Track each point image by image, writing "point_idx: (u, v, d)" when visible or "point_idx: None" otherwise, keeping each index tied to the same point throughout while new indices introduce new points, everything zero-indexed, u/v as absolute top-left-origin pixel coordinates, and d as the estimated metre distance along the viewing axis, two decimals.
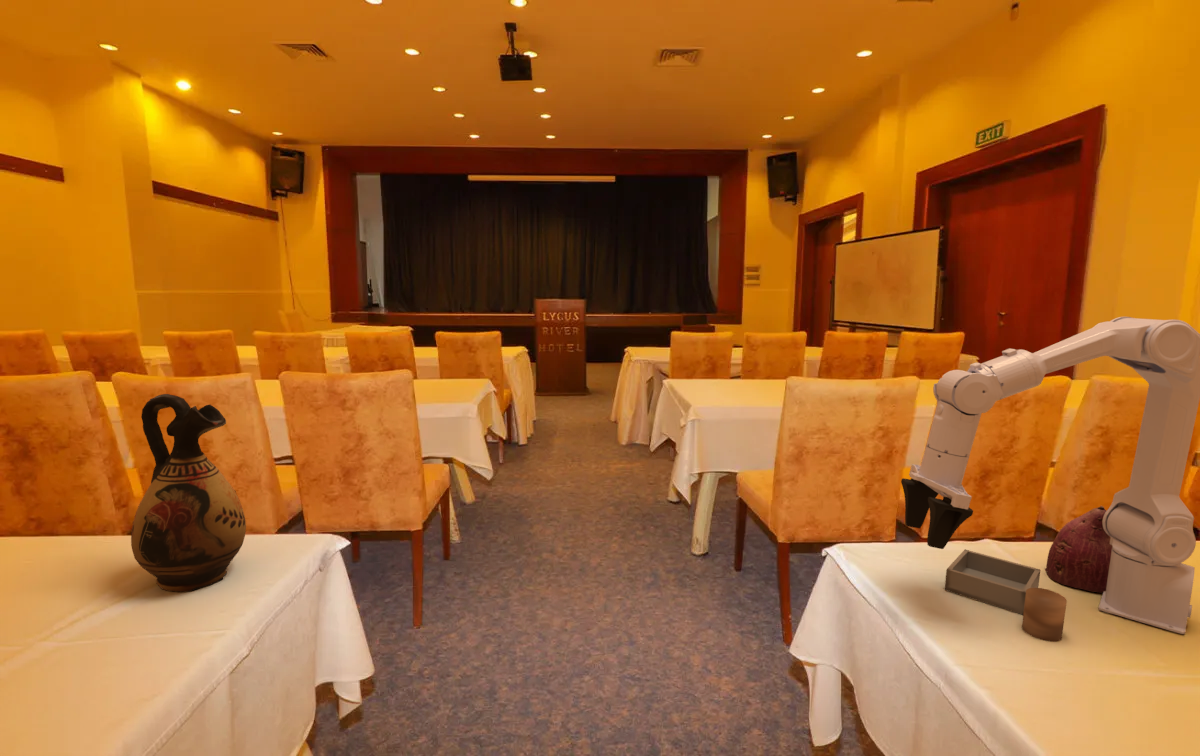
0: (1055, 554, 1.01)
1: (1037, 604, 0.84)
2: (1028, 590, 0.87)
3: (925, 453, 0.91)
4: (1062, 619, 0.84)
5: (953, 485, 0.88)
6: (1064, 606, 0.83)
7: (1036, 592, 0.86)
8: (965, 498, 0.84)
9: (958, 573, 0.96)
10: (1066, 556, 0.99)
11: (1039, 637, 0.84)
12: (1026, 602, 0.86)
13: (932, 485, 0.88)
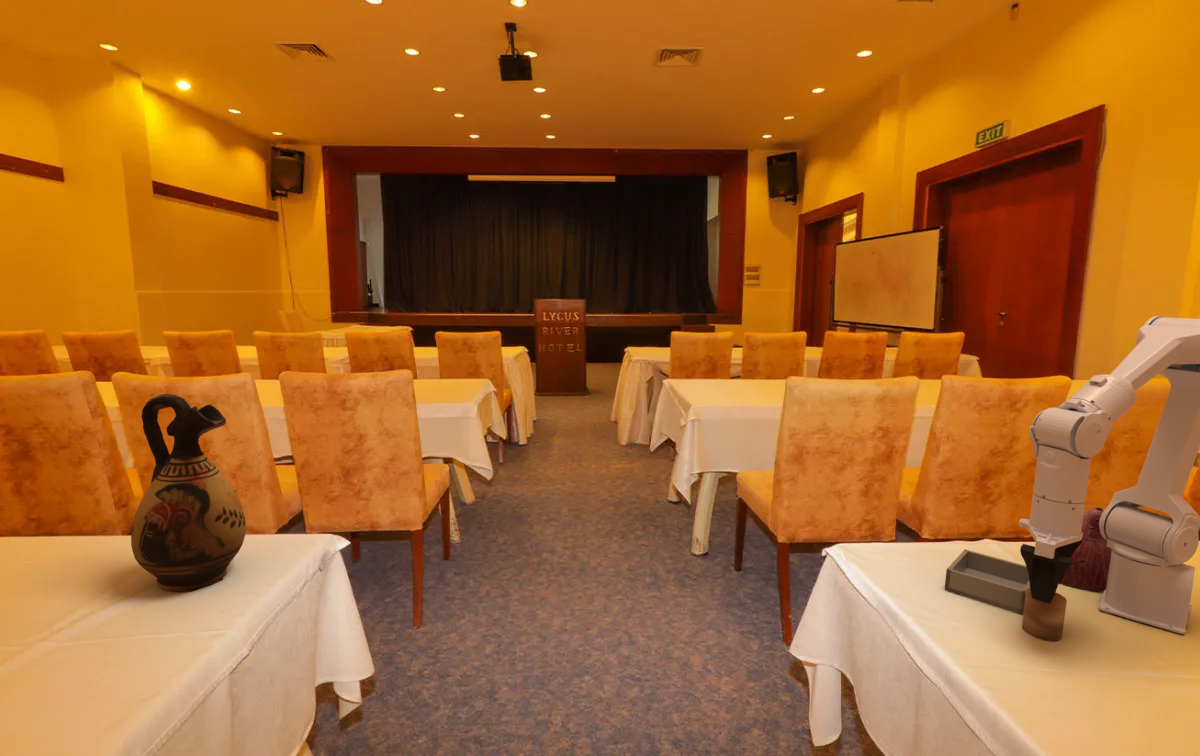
0: None
1: (1037, 604, 0.84)
2: (1028, 590, 0.87)
3: None
4: (1062, 619, 0.84)
5: (1057, 534, 0.81)
6: (1064, 606, 0.83)
7: None
8: (1046, 546, 0.78)
9: (958, 573, 0.96)
10: None
11: (1039, 637, 0.84)
12: (1026, 602, 0.86)
13: (1030, 532, 0.83)
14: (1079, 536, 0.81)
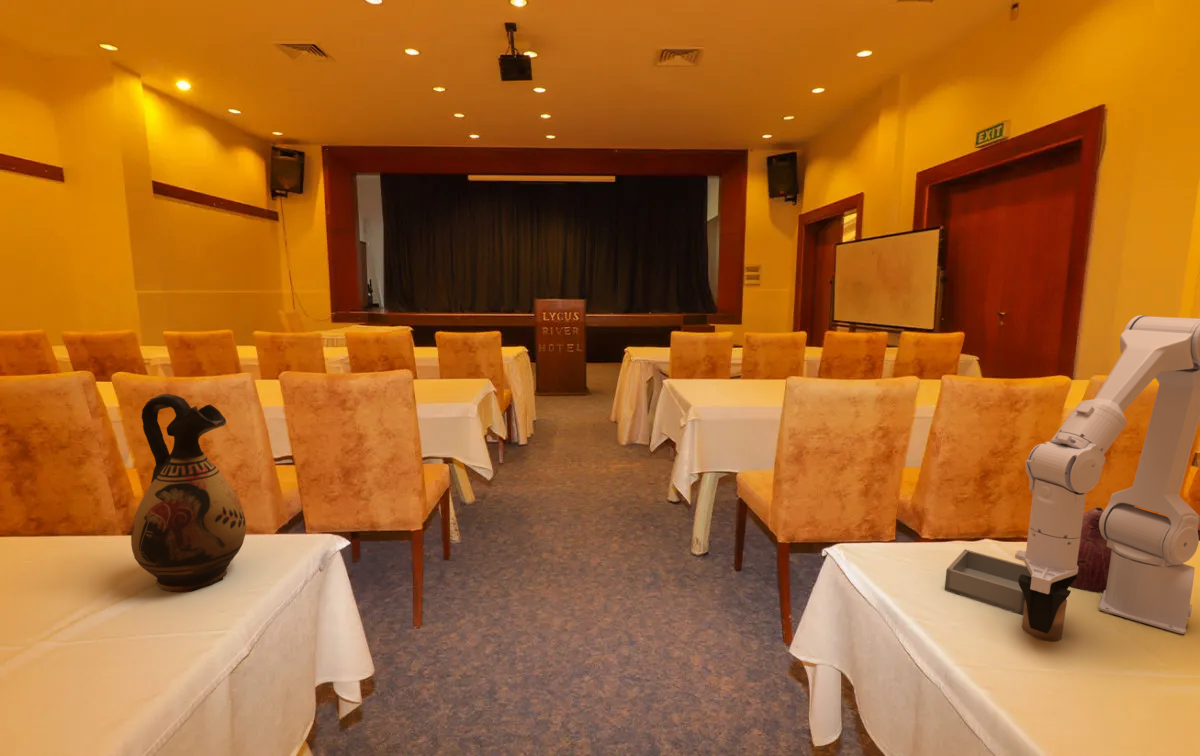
0: None
1: None
2: None
3: None
4: (1062, 619, 0.84)
5: (1052, 568, 0.82)
6: (1064, 606, 0.83)
7: None
8: (1042, 581, 0.79)
9: (958, 573, 0.96)
10: None
11: (1039, 637, 0.84)
12: None
13: (1026, 565, 0.84)
14: (1075, 570, 0.82)
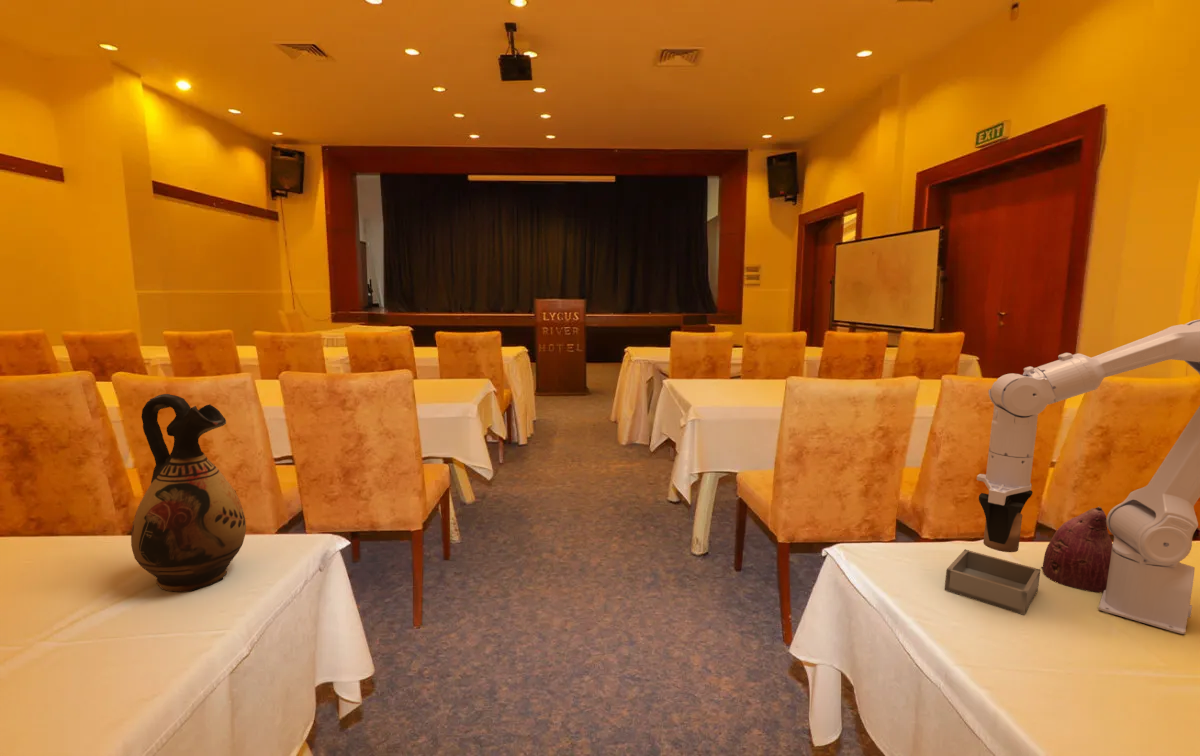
0: (1052, 553, 1.02)
1: None
2: None
3: None
4: (1017, 532, 0.93)
5: (1008, 485, 0.92)
6: (1019, 520, 0.93)
7: None
8: (998, 494, 0.89)
9: (958, 573, 0.96)
10: (1062, 555, 1.00)
11: (997, 548, 0.94)
12: None
13: (986, 484, 0.94)
14: (1028, 486, 0.92)
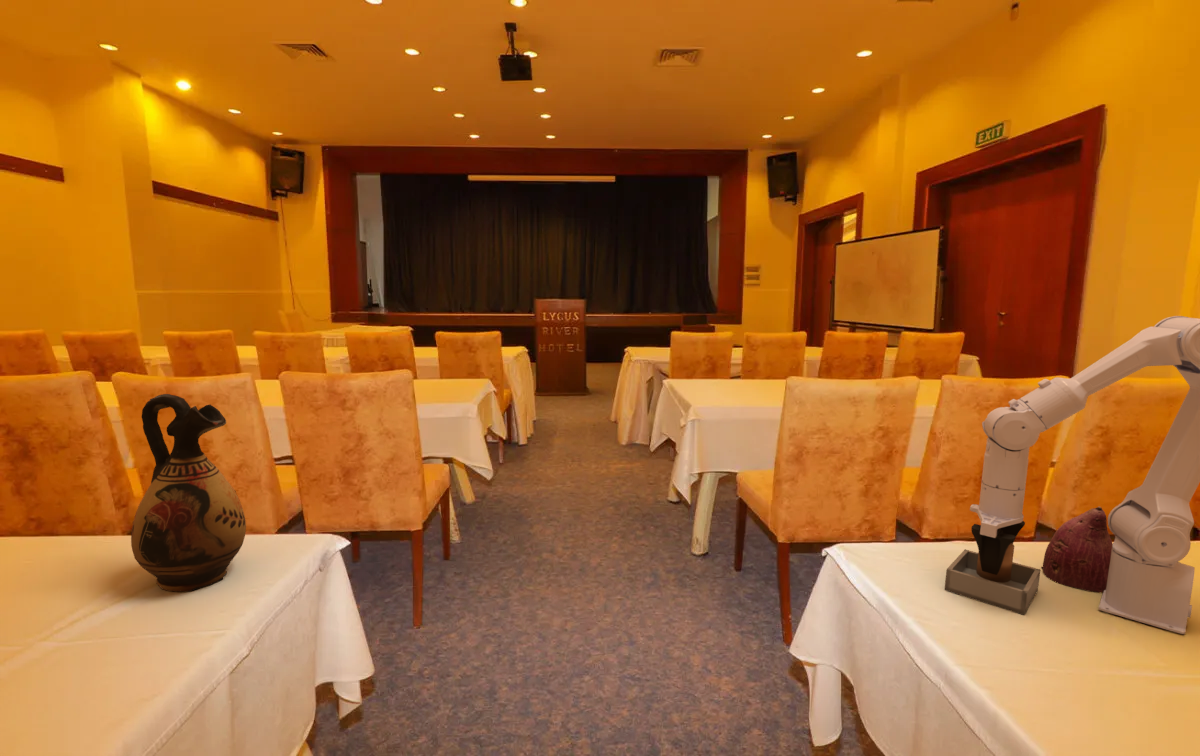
0: (1052, 553, 1.02)
1: None
2: None
3: None
4: (1009, 563, 0.95)
5: (1000, 517, 0.94)
6: (1011, 551, 0.95)
7: None
8: (990, 527, 0.91)
9: (958, 573, 0.96)
10: (1062, 555, 1.00)
11: (989, 578, 0.96)
12: None
13: (978, 515, 0.96)
14: (1020, 518, 0.93)
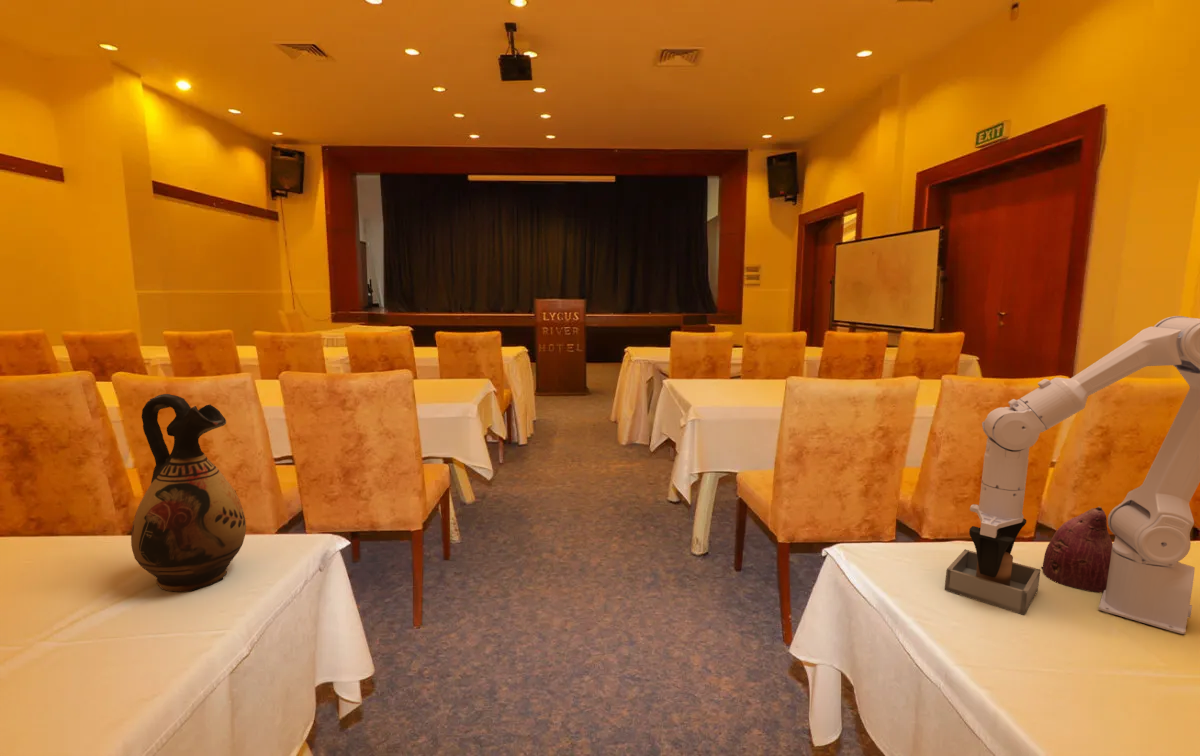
0: (1052, 553, 1.02)
1: None
2: None
3: None
4: (1008, 574, 0.95)
5: (1000, 517, 0.94)
6: (1010, 562, 0.95)
7: None
8: (990, 527, 0.91)
9: (958, 573, 0.96)
10: (1062, 555, 1.00)
11: None
12: None
13: (978, 515, 0.96)
14: (1020, 519, 0.93)
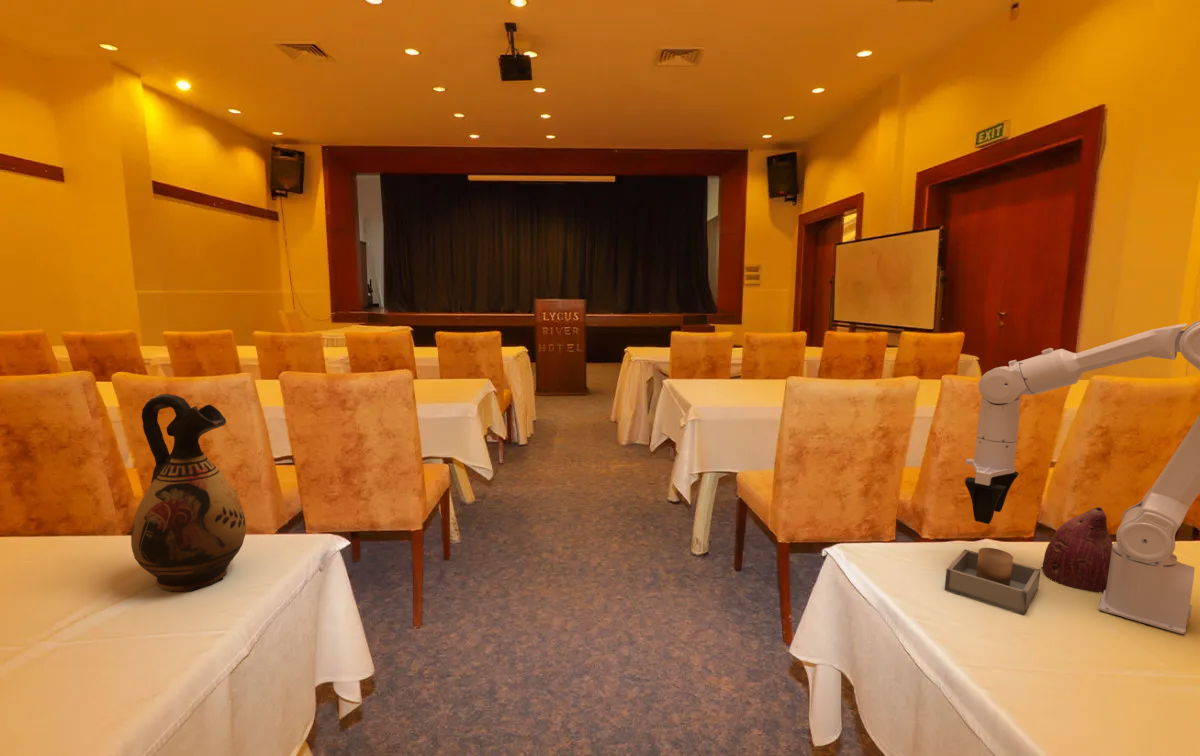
0: (1052, 553, 1.02)
1: (986, 560, 0.96)
2: (981, 549, 0.99)
3: None
4: (1008, 574, 0.95)
5: (994, 467, 1.00)
6: (1010, 562, 0.95)
7: (988, 551, 0.98)
8: (984, 475, 0.98)
9: (958, 573, 0.96)
10: (1062, 555, 1.00)
11: None
12: (978, 559, 0.98)
13: (974, 467, 1.02)
14: (1012, 469, 1.00)
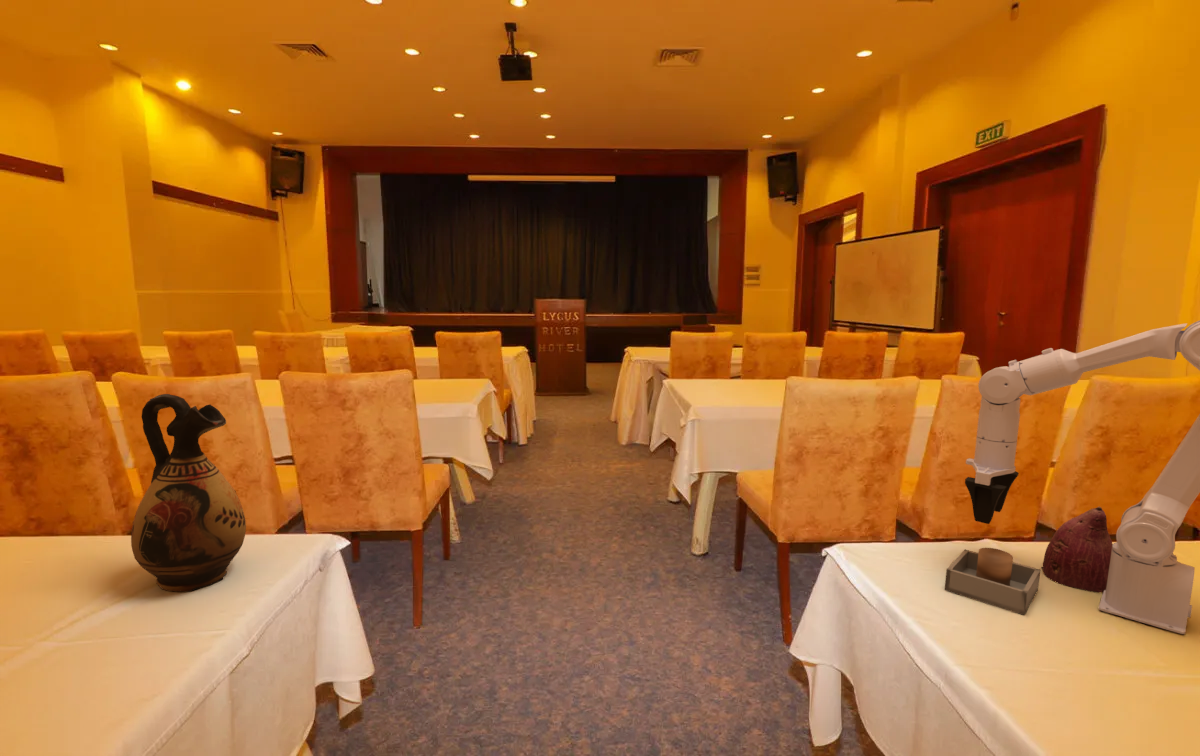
0: (1052, 553, 1.02)
1: (986, 560, 0.96)
2: (981, 549, 0.99)
3: None
4: (1008, 574, 0.95)
5: (994, 467, 1.00)
6: (1010, 562, 0.95)
7: (988, 551, 0.98)
8: (984, 475, 0.98)
9: (958, 573, 0.96)
10: (1062, 555, 1.00)
11: None
12: (978, 559, 0.98)
13: (974, 467, 1.03)
14: (1012, 469, 1.00)
